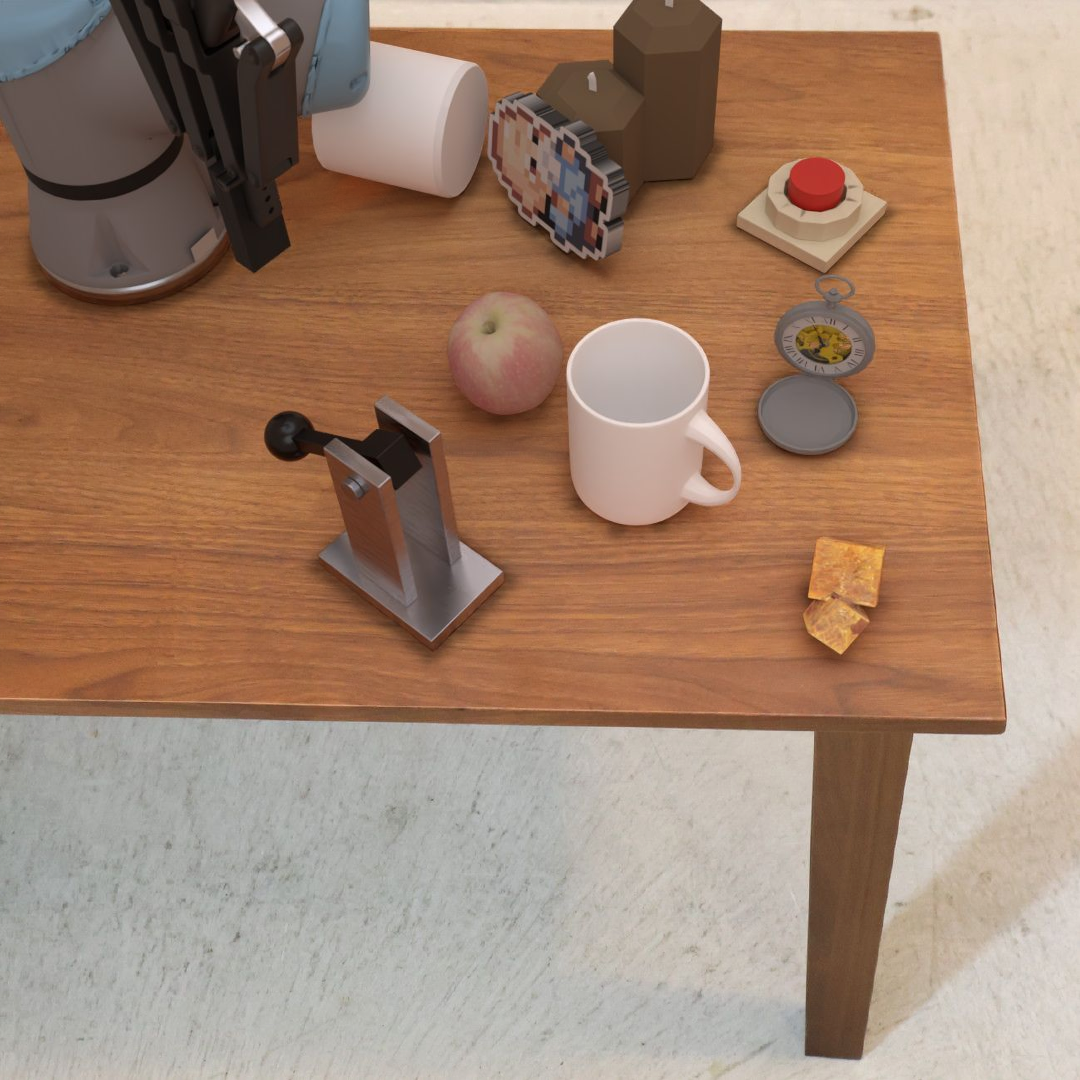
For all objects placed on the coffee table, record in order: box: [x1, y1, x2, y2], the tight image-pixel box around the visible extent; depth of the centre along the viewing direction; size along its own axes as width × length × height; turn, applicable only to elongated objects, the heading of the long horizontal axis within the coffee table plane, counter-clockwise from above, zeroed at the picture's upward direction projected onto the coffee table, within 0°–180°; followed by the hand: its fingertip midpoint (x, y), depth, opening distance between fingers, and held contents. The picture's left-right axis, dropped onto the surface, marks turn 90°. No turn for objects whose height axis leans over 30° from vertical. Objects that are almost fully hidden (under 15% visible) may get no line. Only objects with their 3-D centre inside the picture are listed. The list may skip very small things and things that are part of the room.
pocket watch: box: [757, 274, 877, 456], centre depth 91 cm, size 8×8×10 cm
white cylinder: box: [311, 40, 490, 199], centre depth 107 cm, size 13×10×10 cm
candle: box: [535, 0, 723, 207], centre depth 104 cm, size 14×14×15 cm
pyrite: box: [802, 535, 888, 655], centre depth 84 cm, size 5×7×4 cm
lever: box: [263, 410, 423, 490], centre depth 83 cm, size 14×3×3 cm, turn 49°
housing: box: [735, 157, 888, 274], centre depth 104 cm, size 8×8×3 cm
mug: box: [565, 317, 743, 526], centre depth 87 cm, size 9×12×11 cm
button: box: [788, 156, 845, 212], centre depth 102 cm, size 4×4×2 cm
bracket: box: [317, 394, 505, 652], centre depth 83 cm, size 10×7×14 cm, turn 49°
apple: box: [446, 291, 565, 416], centre depth 94 cm, size 8×8×8 cm
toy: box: [487, 90, 629, 262], centre depth 102 cm, size 14×2×10 cm, turn 39°
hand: (263, 253), depth 76 cm, fingers closed
